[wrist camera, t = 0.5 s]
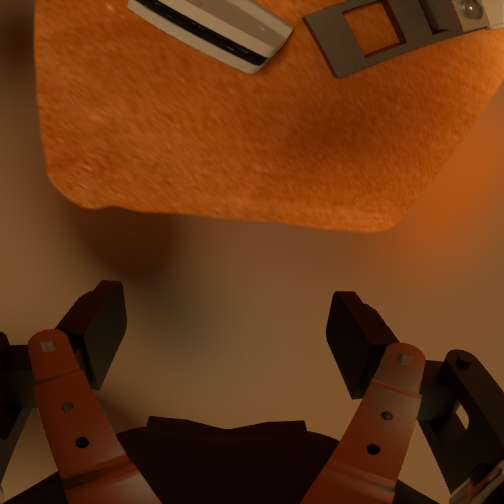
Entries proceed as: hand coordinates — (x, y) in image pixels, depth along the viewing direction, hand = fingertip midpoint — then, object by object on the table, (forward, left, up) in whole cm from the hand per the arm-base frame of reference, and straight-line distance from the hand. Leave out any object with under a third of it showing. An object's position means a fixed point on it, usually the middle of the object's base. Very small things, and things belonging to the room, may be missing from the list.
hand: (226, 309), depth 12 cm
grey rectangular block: (-3, +29, -29) cm, 41 cm away
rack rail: (-3, +24, -29) cm, 38 cm away
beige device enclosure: (-12, +4, -29) cm, 32 cm away
